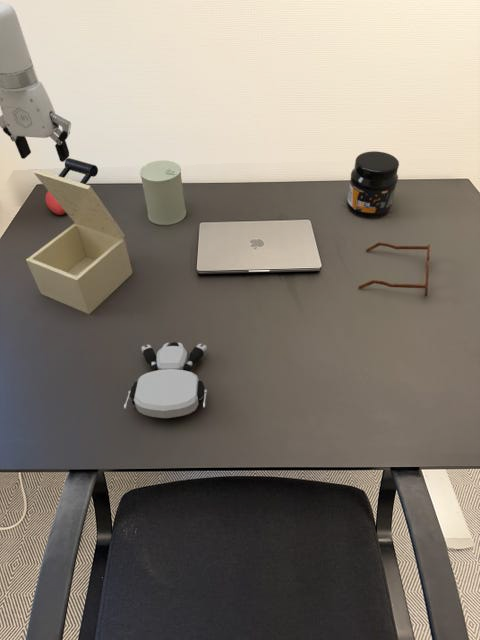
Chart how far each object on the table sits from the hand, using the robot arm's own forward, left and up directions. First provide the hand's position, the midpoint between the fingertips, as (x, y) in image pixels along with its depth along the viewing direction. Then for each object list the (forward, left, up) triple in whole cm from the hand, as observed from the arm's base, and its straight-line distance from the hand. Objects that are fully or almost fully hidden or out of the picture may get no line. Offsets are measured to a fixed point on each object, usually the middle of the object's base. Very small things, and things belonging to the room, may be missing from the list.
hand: (45, 157), depth 106 cm
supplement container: (+74, +14, -13) cm, 76 cm away
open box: (+19, -25, -13) cm, 34 cm away
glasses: (+80, -10, -13) cm, 81 cm away
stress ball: (0, 0, -13) cm, 13 cm away
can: (+27, +2, -13) cm, 30 cm away
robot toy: (+44, -46, -13) cm, 65 cm away
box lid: (+20, -21, +3) cm, 29 cm away
